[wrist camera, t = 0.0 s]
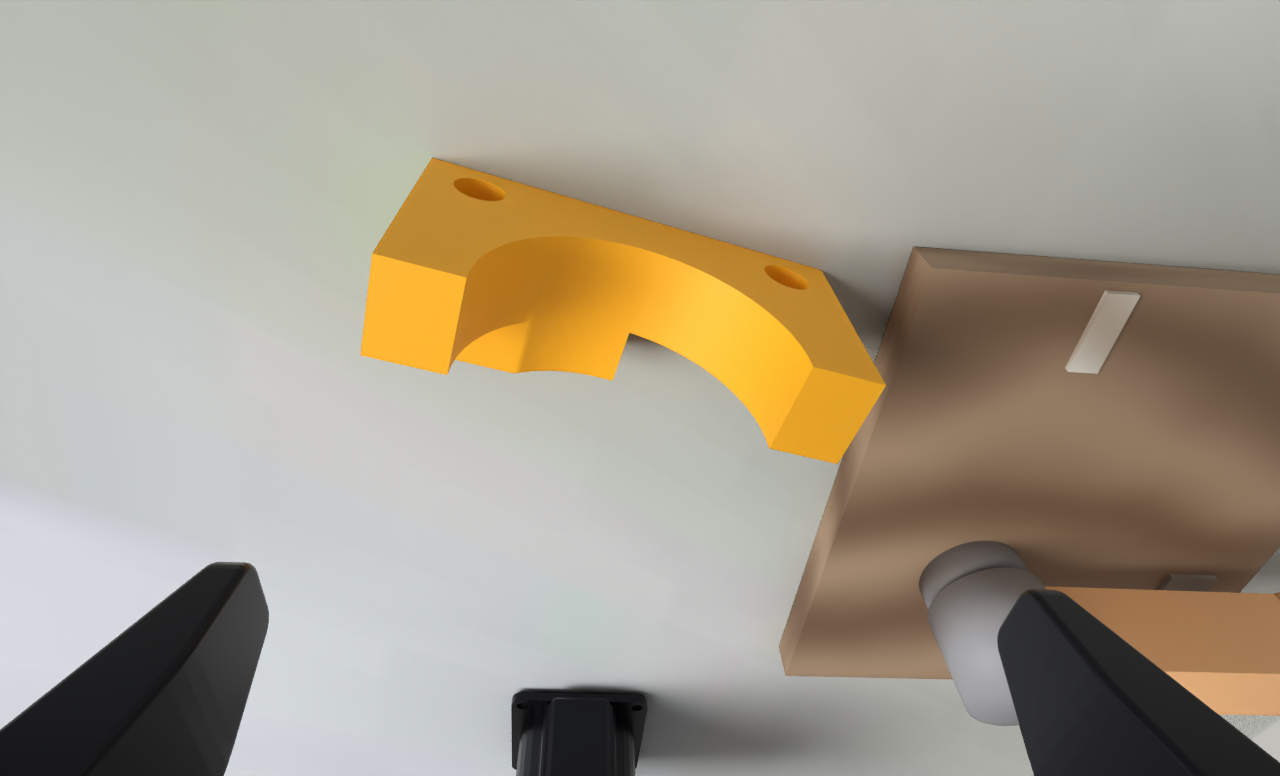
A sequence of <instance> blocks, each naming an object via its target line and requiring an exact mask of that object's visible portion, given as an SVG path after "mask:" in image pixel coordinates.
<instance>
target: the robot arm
mask: <svg viewBox="0 0 1280 776" xmlns="http://www.w3.org/2000/svg"><path fill="white" fill-rule="evenodd" d="M268 623H269V611H268V606H267V603H266V600H265V596H264V593H263V590H262V586H261V583H260V580H259V577H258V573H257V571H256V569H255V567H254V566H253V565H251V564H250V563H241V562H215V563H212V564H210V565H208V566H206V567H205V568H204V569H202V570H201V571H200V572H198V573H197V574H196V575H195V576H193V577H192V578H191V579H190V580H188V581H187V582H186V583H185V584H183V585H182V586H181V587H180V588H178V589H177V590H176V591H174V592H173V593H172V594H171V595H169V596H168V597H167V598H166V599H164V600H163V601H162V602H161V603H159V604H158V605H157V606H156V607H154V608H153V609H152V610H151V611H149V612H148V613H147V614H145V615H144V616H143V617H142V618H140V619H139V620H138V621H137V622H135V623H134V624H133V625H132V626H130V627H129V628H128V629H127V630H125V631H124V632H123V633H122V634H120V635H119V636H118V637H116V638H115V639H114V640H113V641H111V642H110V643H109V644H108V645H106V646H105V647H104V648H103V649H101V650H100V651H99V652H98V653H96V654H95V655H94V656H93V657H91V658H90V659H89V660H87V661H86V662H85V663H84V664H82V665H81V666H80V667H79V668H77V669H76V670H75V671H74V672H72V673H71V674H70V675H69V676H67V677H66V678H65V679H64V680H62V681H61V682H60V683H58V684H57V685H56V686H55V687H53V688H52V689H51V690H50V691H48V692H47V693H46V694H45V695H43V696H42V697H41V698H40V699H38V700H37V701H36V702H35V703H33V704H32V705H31V706H29V707H28V708H27V709H26V710H24V711H23V712H22V713H21V714H19V715H18V716H17V717H16V718H14V719H13V720H12V721H11V722H9V723H8V724H7V725H6V726H4V727H3V728H2V729H0V776H224V773H225V771H226V768H227V765H228V762H229V759H230V756H231V753H232V749H233V746H234V743H235V740H236V736H237V733H238V729H239V726H240V722H241V719H242V716H243V712H244V709H245V705H246V702H247V698H248V695H249V691H250V688H251V685H252V681H253V678H254V674H255V671H256V667H257V664H258V660H259V657H260V654H261V650H262V647H263V643H264V640H265V636H266V633H267V629H268ZM997 645H998V651H999V655H1000V658H1001V662H1002V666H1003V669H1004V673H1005V676H1006V680H1007V683H1008V687H1009V690H1010V694H1011V697H1012V701H1013V704H1014V708H1015V711H1016V715H1017V719H1018V722H1019V726H1020V729H1021V733H1022V736H1023V740H1024V743H1025V747H1026V750H1027V754H1028V757H1029V760H1030V763H1031V766H1032V770H1033V773H1034V776H1280V763H1279V762H1278V761H1277V760H1276V759H1274V758H1273V757H1272V756H1271V755H1269V754H1268V753H1267V752H1266V751H1264V750H1263V749H1262V748H1260V747H1259V746H1258V745H1257V744H1255V743H1254V742H1253V741H1252V740H1250V739H1249V738H1248V737H1247V736H1245V735H1244V734H1243V733H1241V732H1240V731H1239V730H1238V729H1236V728H1235V727H1234V726H1233V725H1231V724H1230V723H1229V722H1228V721H1226V720H1225V719H1224V718H1222V717H1221V716H1220V715H1219V714H1217V713H1216V712H1215V711H1214V710H1212V709H1211V708H1210V707H1208V706H1207V705H1206V704H1205V703H1203V702H1202V701H1201V700H1200V699H1198V698H1197V697H1196V696H1195V695H1193V694H1192V693H1191V692H1189V691H1188V690H1187V689H1186V688H1184V687H1183V686H1182V685H1181V684H1179V683H1178V682H1177V681H1176V680H1174V679H1173V678H1172V677H1170V676H1169V675H1168V674H1167V673H1165V672H1164V671H1163V670H1162V669H1160V668H1159V667H1158V666H1156V665H1155V664H1154V663H1153V662H1151V661H1150V660H1149V659H1148V658H1146V657H1145V656H1144V655H1143V654H1141V653H1140V652H1139V651H1137V650H1136V649H1135V648H1134V647H1132V646H1131V645H1130V644H1129V643H1127V642H1126V641H1125V640H1123V639H1122V638H1121V637H1120V636H1118V635H1117V634H1116V633H1115V632H1113V631H1112V630H1111V629H1110V628H1108V627H1107V626H1106V625H1104V624H1103V623H1102V622H1101V621H1099V620H1098V619H1097V618H1096V617H1094V616H1093V615H1092V614H1091V613H1089V612H1088V611H1087V610H1085V609H1084V608H1083V607H1082V606H1080V605H1079V604H1078V603H1077V602H1075V601H1074V600H1073V599H1071V598H1070V597H1069V596H1067V595H1066V594H1065V593H1063V592H1061V591H1057V590H1048V589H1027V590H1025V591H1024V592H1022V593H1021V594H1020V595H1019V597H1018V598H1017V600H1016V602H1015V603H1014V605H1013V607H1012V608H1011V610H1010V612H1009V613H1008V615H1007V616H1006V618H1005V620H1004V621H1003V623H1002V625H1001V626H1000V628H999V631H998V635H997ZM646 712H647V699H646V697H645V696H643V695H638V694H584V693H531V692H521V693H517V694H515V695H514V696H513V698H512V767H513V768H514V769H515V770H517V772H516V776H635V769H636V767H637V762H638V756H639V751H640V745H641V740H642V734H643V729H644V723H645V718H646Z"/></svg>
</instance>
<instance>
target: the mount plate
mask: <svg viewBox="0 0 1280 776" xmlns="http://www.w3.org/2000/svg"><path fill="white" fill-rule="evenodd" d="M874 365H875V366H876V368H877V370H878V372H879V373H880V375H881V377H882V379H883V381H884V382H885V384H886V386H885V388H884V390H883V391H882V393H881V395H880V396H879V398H878V399H877V401H876V403H875V404H874V406H873V408H872V409H871V411H870V412H869V414H868V416H867V417H866V419H865V420H864V422H863V424H862V425H861V427H860V429H859V430H858V432H857V433H856V435H855V437H854V438H853V440H852V442H851V443H850V445H849V446H848V448H847V450H846V451H845V453H844V455H843V458H842V461H841V464H840V467H839V470H838V473H837V476H836V479H835V482H834V484H833V487H832V490H831V493H830V496H829V499H828V502H827V505H826V508H825V511H824V514H823V517H822V520H821V523H820V526H819V529H818V532H817V535H816V538H815V541H814V544H813V547H812V550H811V553H810V556H809V559H808V562H807V565H806V568H805V571H804V574H803V577H802V580H801V583H800V586H799V589H798V591H797V594H796V597H795V600H794V603H793V606H792V609H791V612H790V615H789V618H788V621H787V624H786V627H785V630H784V633H783V636H782V639H781V642H780V645H779V649H780V653H781V658H782V662H783V667H784V671H785V675H786V676H823V677H870V678H917V679H953V678H952V676H951V673H950V671H949V669H948V667H947V664H946V662H945V660H944V657H943V655H942V653H941V651H940V648H939V646H938V644H937V641H936V639H935V637H934V635H933V632H932V630H931V628H930V625H929V623H928V610H929V607H930V605H931V603H932V601H933V600H934V598H935V597H936V596H937V595H938V594H939V593H940V592H941V591H942V590H943V589H944V588H946V587H947V586H948V585H950V584H951V583H953V582H954V581H956V580H958V579H960V578H962V577H964V576H967V575H969V574H972V573H975V572H978V571H982V570H986V569H992V568H1017V569H1022V570H1025V571H1028V572H1030V573H1032V574H1034V575H1035V576H1037V577H1038V578H1039V579H1040V580H1041V582H1042V583H1043V585H1044V586H1050V587H1080V588H1110V589H1139V590H1169V591H1199V592H1229V593H1240V591H1241V590H1242V589H1243V588H1244V587H1245V586H1246V585H1247V583H1248V582H1249V581H1250V580H1251V579H1252V578H1253V576H1254V575H1255V574H1256V573H1257V572H1258V571H1259V570H1260V568H1261V567H1262V566H1263V565H1264V564H1265V563H1266V562H1267V560H1268V559H1269V558H1270V557H1271V556H1272V555H1273V553H1274V552H1275V551H1276V550H1277V549H1278V548H1279V547H1280V275H1279V274H1266V273H1253V272H1240V271H1227V270H1214V269H1200V268H1187V267H1174V266H1161V265H1148V264H1135V263H1122V262H1109V261H1095V260H1082V259H1069V258H1056V257H1043V256H1030V255H1017V254H1004V253H990V252H977V251H964V250H951V249H938V248H925V247H913V250H912V253H911V256H910V259H909V262H908V265H907V267H906V270H905V273H904V276H903V279H902V282H901V285H900V288H899V291H898V294H897V297H896V300H895V303H894V306H893V309H892V312H891V315H890V318H889V321H888V324H887V327H886V330H885V333H884V336H883V339H882V342H881V345H880V348H879V351H878V354H877V357H876V360H875V363H874Z"/></svg>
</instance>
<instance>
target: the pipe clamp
mask: <svg viewBox="0 0 1280 776" xmlns="http://www.w3.org/2000/svg"><path fill="white" fill-rule="evenodd" d="M629 333H632V334H635V335H638V336H640V337H643V338H646V339H648V340H651V341H653V342H656V343H658V344H660V345H663V346H665V347H667V348H669V349H671V350H673V351H675V352H677V353H679V354H681V355H682V356H684V357H686V358H688V359H690V360H691V361H693V362H694V363H696V364H697V365H699V366H701V367H702V368H704V369H705V370H706V371H708V372H709V373H711V374H712V375H713V376H715V377H716V378H717V379H718V380H720V381H721V382H722V383H723V384H724V385H726V386H727V387H728V388H729V389H730V390H731V391H732V392H733V393H734V394H735V395H736V396H737V397H738V398H739V399H740V400H741V401H742V402H743V404H744V405H745V406H746V407H747V408H748V410H749V411H750V412H751V414H752V415H753V416H754V418H755V419H756V421H757V423H758V424H759V426H760V428H761V430H762V432H763V434H764V436H765V438H766V440H767V443H768V446H769V448H770V449H774V450H779V451H783V452H788V453H792V454H796V455H801V456H805V457H810V458H814V459H818V460H823V461H827V462H831V463H836V464H838V463H839V461H840V459H841V458H842V456H843V455H844V453H845V451H846V450H847V448H848V446H849V445H850V443H851V442H852V440H853V438H854V437H855V435H856V433H857V432H858V430H859V429H860V427H861V425H862V424H863V422H864V420H865V419H866V417H867V416H868V414H869V412H870V411H871V409H872V408H873V406H874V404H875V403H876V401H877V399H878V398H879V396H880V395H881V393H882V391H883V390H884V388H885V386H886V384H885V382H884V381H883V379H882V377H881V375H880V373H879V372H878V370H877V368H876V366H875V365H874V363H873V361H872V359H871V357H870V356H869V354H868V352H867V350H866V348H865V347H864V345H863V343H862V341H861V340H860V338H859V336H858V334H857V332H856V331H855V329H854V327H853V325H852V323H851V322H850V320H849V318H848V316H847V315H846V313H845V311H844V309H843V307H842V306H841V304H840V302H839V300H838V298H837V297H836V295H835V293H834V291H833V290H832V288H831V286H830V284H829V282H828V281H827V279H826V277H825V275H824V273H823V272H822V270H820V269H816V268H813V267H809V266H806V265H802V264H799V263H795V262H792V261H788V260H785V259H782V258H778V257H775V256H771V255H768V254H764V253H761V252H757V251H754V250H750V249H747V248H743V247H740V246H736V245H733V244H730V243H726V242H723V241H719V240H716V239H712V238H709V237H705V236H702V235H698V234H695V233H691V232H688V231H684V230H681V229H678V228H674V227H671V226H667V225H664V224H660V223H657V222H653V221H650V220H646V219H643V218H639V217H636V216H632V215H629V214H626V213H622V212H619V211H615V210H612V209H608V208H605V207H601V206H598V205H594V204H591V203H587V202H584V201H581V200H577V199H574V198H570V197H567V196H563V195H560V194H556V193H553V192H549V191H546V190H542V189H539V188H535V187H532V186H529V185H525V184H522V183H518V182H515V181H511V180H508V179H504V178H501V177H497V176H494V175H490V174H487V173H483V172H480V171H477V170H473V169H470V168H466V167H463V166H459V165H456V164H452V163H449V162H445V161H442V160H438V159H435V158H432V159H431V160H430V162H429V163H428V165H427V167H426V168H425V170H424V171H423V173H422V175H421V176H420V178H419V179H418V181H417V183H416V184H415V186H414V187H413V189H412V191H411V192H410V194H409V195H408V197H407V199H406V200H405V202H404V203H403V205H402V207H401V208H400V210H399V211H398V213H397V215H396V216H395V218H394V219H393V221H392V223H391V224H390V226H389V227H388V229H387V231H386V232H385V234H384V235H383V237H382V239H381V240H380V242H379V243H378V245H377V247H376V248H375V250H374V251H373V253H372V260H371V269H370V277H369V286H368V295H367V303H366V312H365V321H364V329H363V338H362V347H361V355H362V356H366V357H371V358H375V359H379V360H384V361H388V362H393V363H397V364H401V365H406V366H410V367H415V368H419V369H423V370H428V371H432V372H436V373H441V374H445V375H447V374H448V372H449V370H450V367H451V365H452V363H453V362H454V360H459V361H463V362H467V363H472V364H476V365H480V366H485V367H489V368H493V369H497V370H502V371H506V372H510V373H520V372H529V371H565V372H574V373H581V374H586V375H592V376H596V377H600V378H604V379H608V380H611V381H612V380H613V378H614V375H615V372H616V369H617V366H618V364H619V361H620V358H621V355H622V352H623V349H624V347H625V344H626V341H627V338H628V335H629Z"/></svg>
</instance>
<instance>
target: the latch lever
mask: <svg viewBox="0 0 1280 776" xmlns="http://www.w3.org/2000/svg"><path fill="white" fill-rule="evenodd" d="M1027 589H1048V590H1057V591H1061V592H1063V593H1065V594H1066V595H1067V596H1069V597H1070V598H1071V599H1073V600H1074V601H1075V602H1077V603H1078V604H1079V605H1080V606H1082V607H1083V608H1084V609H1085V610H1087V611H1088V612H1089V613H1091V614H1092V615H1093V616H1094V617H1096V618H1097V619H1098V620H1099V621H1101V622H1102V623H1103V624H1104V625H1106V626H1107V627H1108V628H1110V629H1111V630H1112V631H1113V632H1115V633H1116V634H1117V635H1118V636H1120V637H1121V638H1122V639H1123V640H1125V641H1126V642H1127V643H1129V644H1130V645H1131V646H1132V647H1134V648H1135V649H1136V650H1137V651H1139V652H1140V653H1141V654H1143V655H1144V656H1145V657H1146V658H1148V659H1149V660H1150V661H1151V662H1153V663H1154V664H1155V665H1156V666H1158V667H1159V668H1160V669H1162V670H1163V671H1164V672H1165V673H1167V674H1168V675H1169V676H1170V677H1172V678H1173V679H1174V680H1176V681H1177V682H1178V683H1179V684H1181V685H1182V686H1183V687H1184V688H1186V689H1187V690H1188V691H1189V692H1191V693H1192V694H1193V695H1195V696H1196V697H1197V698H1198V699H1200V700H1201V701H1202V702H1203V703H1205V704H1206V705H1207V706H1208V707H1210V708H1211V709H1212V710H1214V711H1215V712H1216V713H1217V714H1221V715H1279V716H1280V592H1279V593H1275V594H1258V593H1229V592H1199V591H1169V590H1139V589H1110V588H1080V587H1050V586H1044V585H1043V583H1042V582H1041V580H1040V579H1039V578H1038V577H1037V576H1035V575H1034V574H1032V573H1030V572H1028V571H1025V570H1022V569H1017V568H992V569H986V570H982V571H978V572H975V573H972V574H969V575H967V576H964V577H962V578H960V579H958V580H956V581H954V582H953V583H951V584H950V585H948V586H947V587H946V588H944V589H943V590H942V591H941V592H940V593H939V594H938V595H937V596H936V597H935V598H934V600H933V601H932V603H931V605H930V607H929V610H928V623H929V625H930V628H931V630H932V632H933V635H934V637H935V639H936V641H937V644H938V646H939V648H940V651H941V653H942V655H943V657H944V660H945V662H946V664H947V667H948V669H949V671H950V673H951V676H952V678H953V680H954V683H955V685H956V687H957V689H958V692H959V694H960V696H961V699H962V701H963V703H964V705H965V708H966V710H967V712H968V713H969V714H970V715H971V716H972V717H973V718H975V719H977V720H979V721H981V722H984V723H987V724H992V725H1001V726H1014V725H1019V722H1018V719H1017V715H1016V711H1015V708H1014V704H1013V701H1012V697H1011V694H1010V690H1009V687H1008V683H1007V680H1006V676H1005V673H1004V669H1003V666H1002V662H1001V658H1000V655H999V651H998V645H997V635H998V631H999V628H1000V626H1001V625H1002V623H1003V621H1004V620H1005V618H1006V616H1007V615H1008V613H1009V612H1010V610H1011V608H1012V607H1013V605H1014V603H1015V602H1016V600H1017V598H1018V597H1019V595H1020V594H1021V593H1022V592H1024V591H1025V590H1027Z"/></svg>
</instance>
